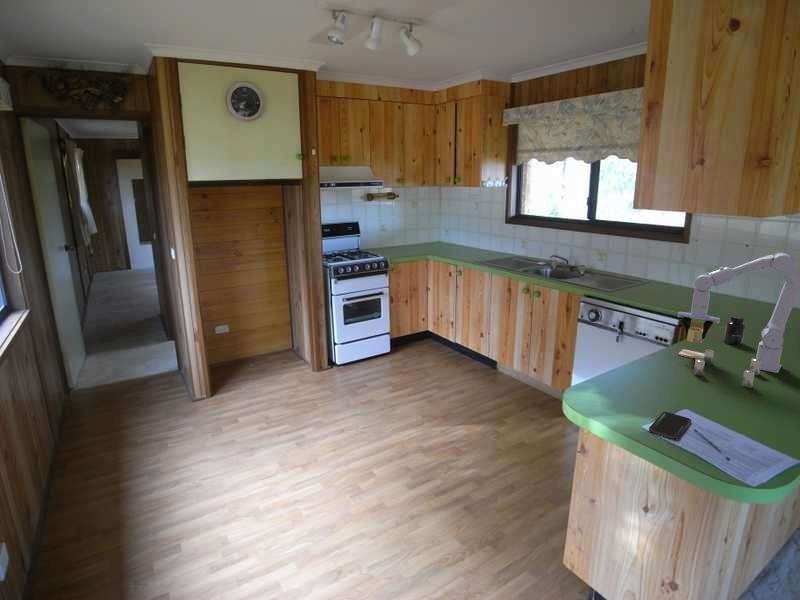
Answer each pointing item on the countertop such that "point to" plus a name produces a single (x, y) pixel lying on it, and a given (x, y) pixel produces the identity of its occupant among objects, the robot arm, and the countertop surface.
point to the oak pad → (691, 354)
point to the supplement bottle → (734, 331)
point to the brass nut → (695, 335)
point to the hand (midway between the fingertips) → (695, 336)
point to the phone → (670, 425)
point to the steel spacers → (748, 374)
